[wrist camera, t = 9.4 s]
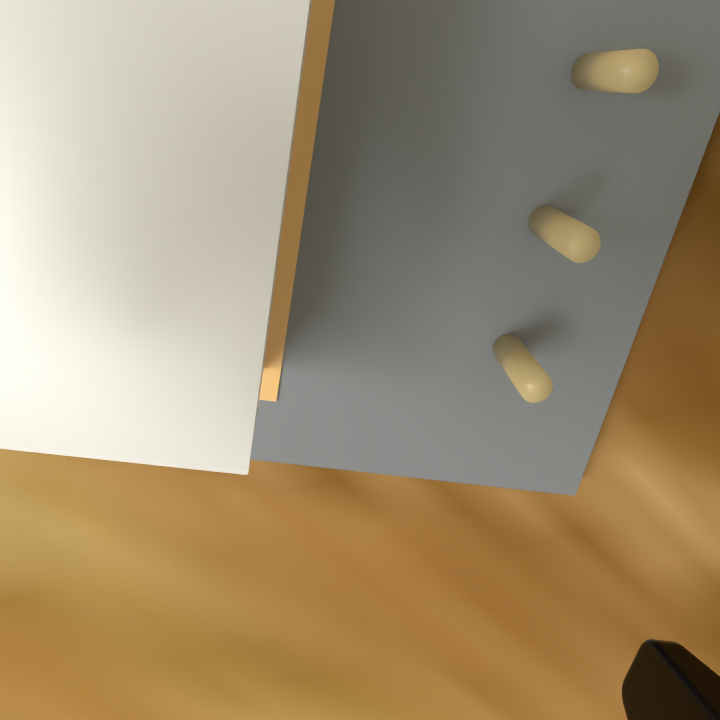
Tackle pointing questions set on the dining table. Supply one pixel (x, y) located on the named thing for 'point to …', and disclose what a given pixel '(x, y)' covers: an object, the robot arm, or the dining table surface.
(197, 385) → the block
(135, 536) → the dining table surface
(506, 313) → the header board
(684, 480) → the dining table surface
